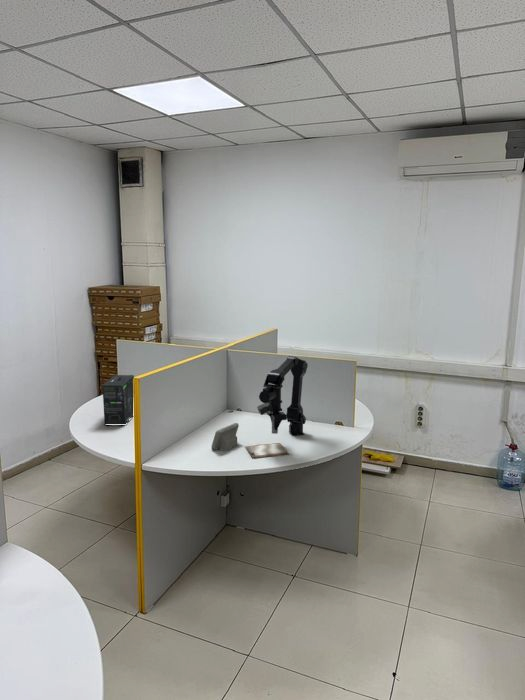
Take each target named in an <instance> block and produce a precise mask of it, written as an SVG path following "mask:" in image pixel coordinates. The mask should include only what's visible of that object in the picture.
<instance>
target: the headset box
mask: <svg viewBox="0 0 525 700" xmlns="http://www.w3.org/2000/svg"><path fill="white" fill-rule="evenodd" d="M133 378H134V379H135V376H134V374H114V375H113V376H112V377H110V378H109V379H108V380H107V381H105V382H104V383H103V384H102V385H101V387H102V402H103V416H104V425H105V424H126V423H127V422H128V421H129V419H130V418H131V417H133V418H134V416H133ZM129 422H130V421H129Z"/></svg>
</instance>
